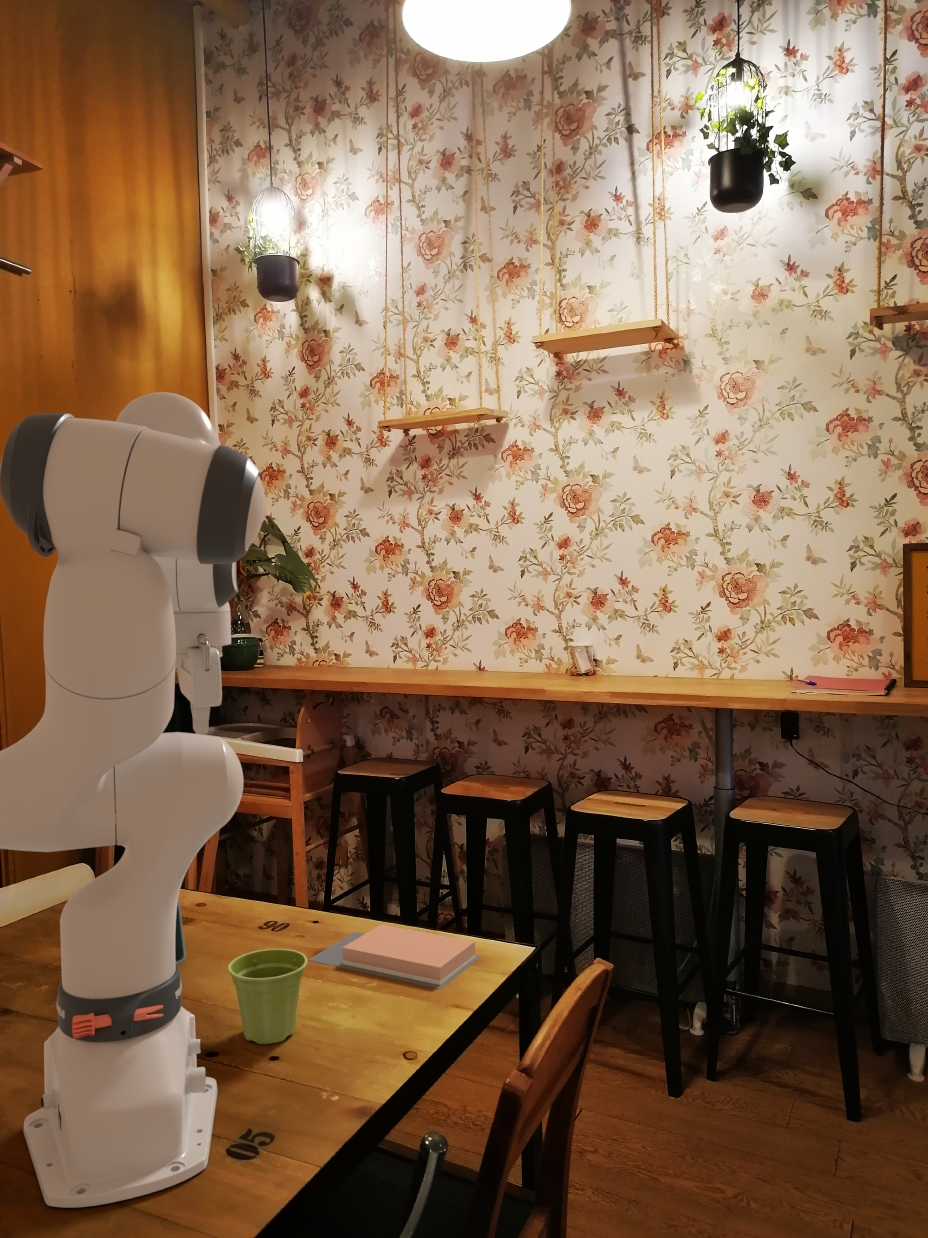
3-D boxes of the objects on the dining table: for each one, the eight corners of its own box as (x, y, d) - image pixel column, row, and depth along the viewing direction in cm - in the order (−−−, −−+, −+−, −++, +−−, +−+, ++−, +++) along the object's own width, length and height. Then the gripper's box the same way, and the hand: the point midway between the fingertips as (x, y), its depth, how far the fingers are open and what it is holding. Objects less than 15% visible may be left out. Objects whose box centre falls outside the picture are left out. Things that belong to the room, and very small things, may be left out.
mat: (307, 962, 134) (307, 960, 134) (355, 934, 145) (355, 932, 145) (440, 992, 124) (440, 989, 124) (481, 959, 135) (481, 956, 135)
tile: (342, 947, 133) (440, 967, 125) (381, 924, 141) (474, 942, 134) (342, 964, 133) (440, 985, 125) (381, 940, 141) (474, 958, 134)
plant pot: (227, 1022, 116) (225, 953, 116) (303, 1010, 119) (301, 943, 119) (232, 1058, 107) (230, 984, 107) (314, 1044, 110) (312, 972, 110)
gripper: (231, 635, 121) (234, 741, 121) (212, 629, 140) (215, 721, 140) (181, 637, 118) (184, 745, 119) (168, 631, 137) (171, 724, 138)
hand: (200, 732), depth 130 cm, fingers closed
